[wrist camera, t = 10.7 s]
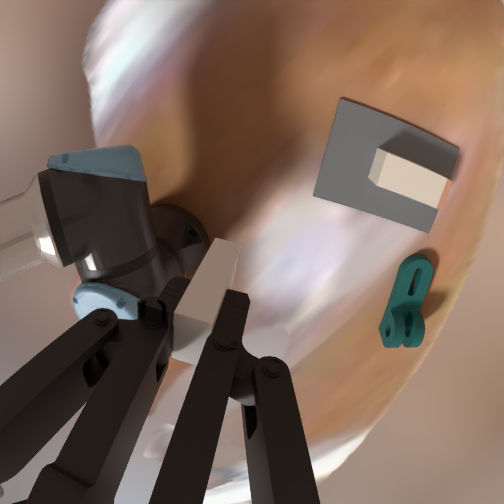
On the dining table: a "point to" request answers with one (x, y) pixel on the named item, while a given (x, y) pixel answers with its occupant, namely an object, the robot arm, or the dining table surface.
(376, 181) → the cream block
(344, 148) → the slate mat
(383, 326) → the bracket
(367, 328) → the dining table surface
